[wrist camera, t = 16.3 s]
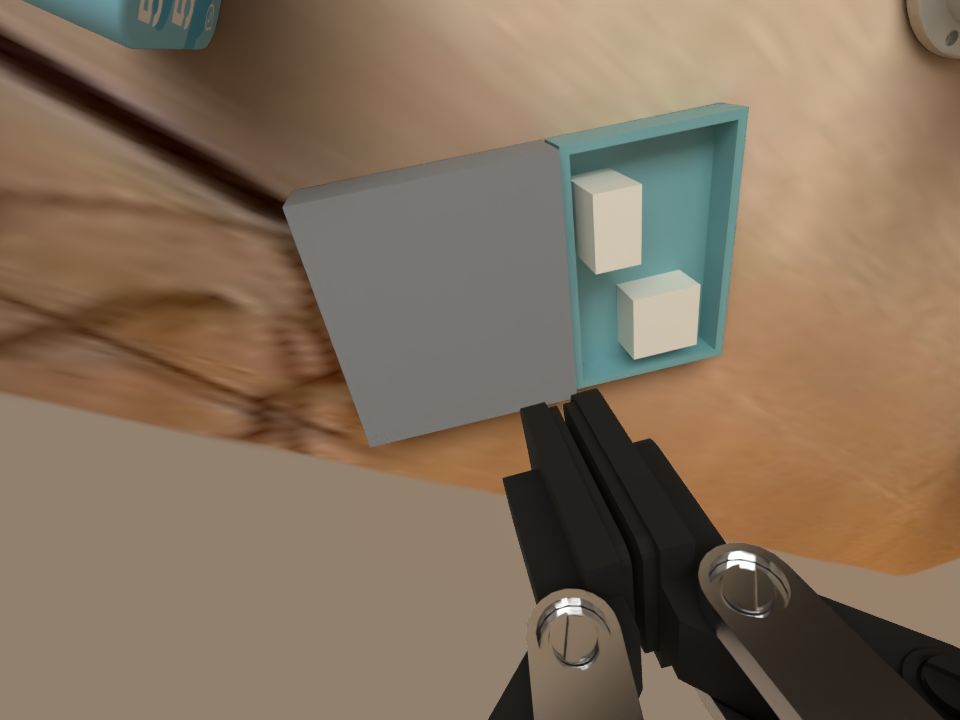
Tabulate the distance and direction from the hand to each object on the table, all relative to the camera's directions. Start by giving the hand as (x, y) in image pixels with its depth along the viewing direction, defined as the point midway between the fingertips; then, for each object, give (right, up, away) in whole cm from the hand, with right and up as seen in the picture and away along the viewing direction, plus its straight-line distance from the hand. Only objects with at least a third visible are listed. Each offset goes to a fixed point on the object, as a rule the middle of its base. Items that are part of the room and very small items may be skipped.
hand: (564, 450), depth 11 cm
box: (+10, +10, +27) cm, 30 cm away
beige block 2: (+12, +5, +26) cm, 29 cm away
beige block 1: (+5, +11, +22) cm, 25 cm away
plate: (-4, +7, +26) cm, 27 cm away
